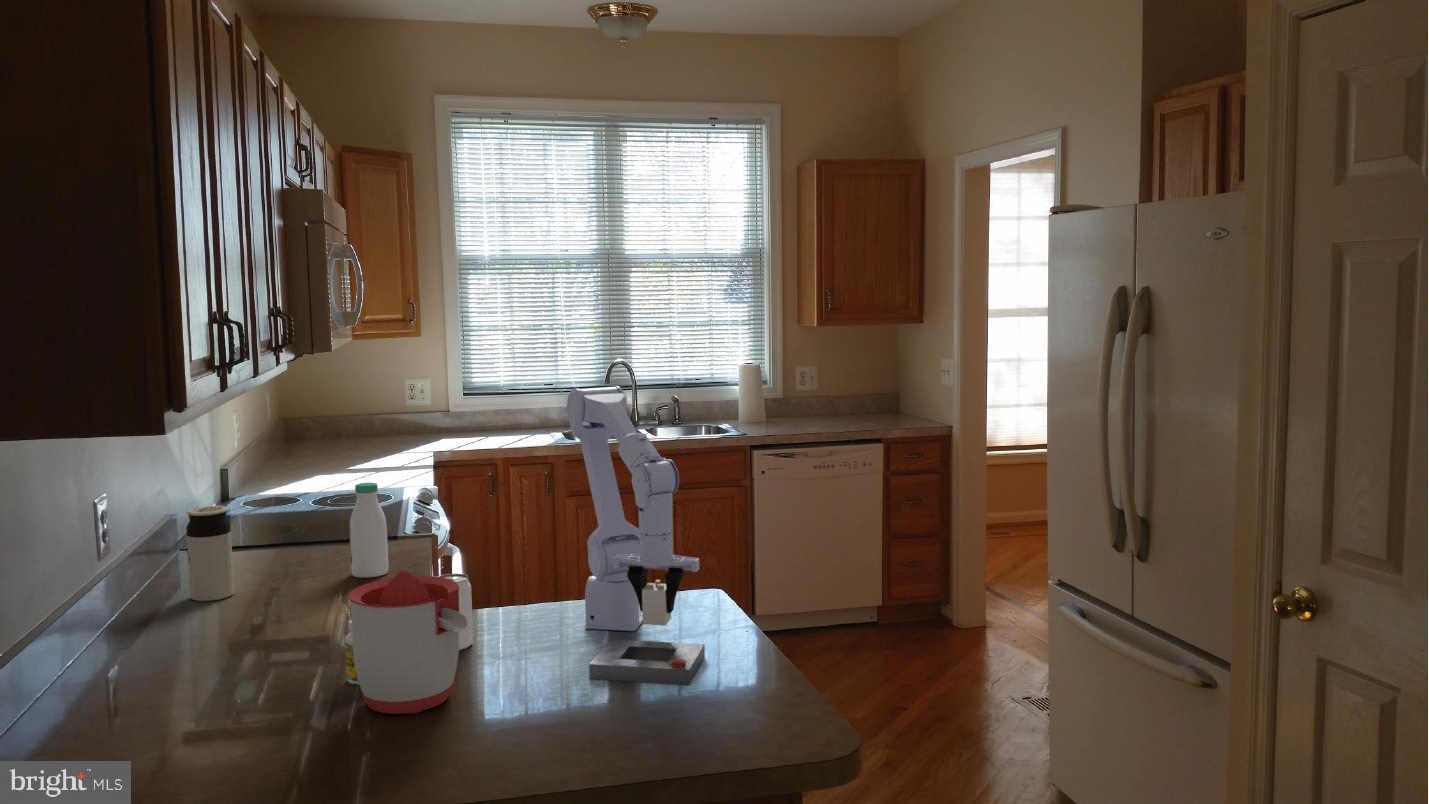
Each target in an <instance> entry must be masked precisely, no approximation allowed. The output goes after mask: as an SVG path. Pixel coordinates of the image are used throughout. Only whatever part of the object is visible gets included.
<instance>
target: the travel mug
mask: <svg viewBox="0 0 1429 804" xmlns="http://www.w3.org/2000/svg"><path fill="white" fill-rule="evenodd" d="M228 510H229V508H228V507H227V506H224V505H208V506H199V507H194V508H191V509H188V510H187V511H186V514H187V515H188V519H189V521H188V524H187V525H186V527H185V528H186V543H187V545H186V546H187V556H188V557H187V558H188V560H187V561H188V573H189V574H188V575H189V576H188V577H189V589H190V590H189V592H190V599H191V600H194V601H196V602H213V601H214V602H215V601H221V600H225V599H228V598H229V597H231V596H233V595H234V594H235V582H234V578H235V577H234V564H233V563H234V562H233V547H232V545H233V544H232V533H231V532H232V531H231V522H230V520H229V519H228V518H227V513H228Z"/></svg>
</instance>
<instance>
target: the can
mask: <svg viewBox="0 0 1429 804" xmlns="http://www.w3.org/2000/svg"><path fill="white" fill-rule="evenodd" d="M437 577H442V578H447V579H450V580H453V581H455V582H456V583H457V584H458V585H459V613H461V614H463V615H464V616H465V617H466V619H467V627H466V628H465V629H464V630H462V631H460V632H459V650H460V651H463V650H462V649H464V650H466V649H468V648H470V647H471V646H472V644H473V642H474V640H473V639H474V636H473V634H474V631H473V629H474V628H473V627H474V626H473V605H472V601H473V600H472V585H471V583H470V581H469V576H468V574H464V573H447V574H442V575H438V576H437ZM470 645H471V646H470ZM469 646H470V647H469ZM467 647H468V648H467Z"/></svg>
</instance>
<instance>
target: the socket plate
mask: <svg viewBox="0 0 1429 804" xmlns="http://www.w3.org/2000/svg"><path fill="white" fill-rule="evenodd" d="M705 645H706V644H704V643H690V642H689V643H688V642H686V643H685V642H684V643H683V642H671V641H653V640H633V639H619V638H618V639H617V638H616V639H615V638H614V639H613V638H610V640H609V641H608V642H607V644H605V645H604V646H603V648H602V649H601V650H600V651H599V652H598V653H597V655H596V656H595V657H594V658H593V659H592V660H591V661H590V662H589V664H588V670H589V673H588V674H589V680H599V679H602V680H601V681H617V682H632V683H633V682H634V683H647V684H649V683H650V684H663V685H664V684H665V685H679V686H689V685H691V683H692V681H693V679H694V677H695V676H696V674H697V672H698V671H699V669H700V667H701V666H702V664H703V662H704V660H705V659H706V656H705V655H706V653H705V651H706V650H705V649H706V647H705Z"/></svg>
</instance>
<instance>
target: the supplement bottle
mask: <svg viewBox="0 0 1429 804" xmlns="http://www.w3.org/2000/svg"><path fill="white" fill-rule="evenodd" d="M348 630H349V631H350V632H348V634H346V636H345V638H344V647H345V648H344V649H345V666H346V681H347V682H348V683H349V684H352V685H354V684H356V686H360V684H359V681H358V678H357V674H356V670H355V665H354V656H353V640H352V619H350V620H349V621H348Z"/></svg>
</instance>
